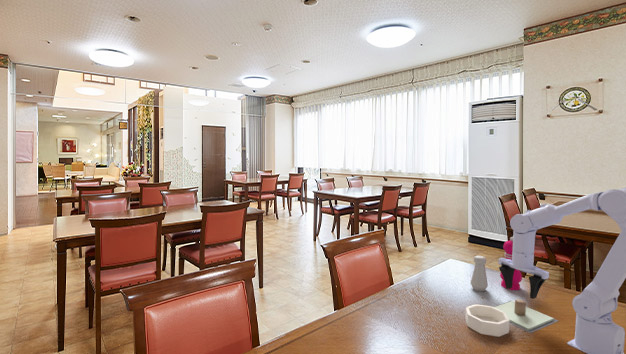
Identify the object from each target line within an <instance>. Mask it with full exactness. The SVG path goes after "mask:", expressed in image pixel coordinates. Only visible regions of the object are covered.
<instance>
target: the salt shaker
mask: <svg viewBox="0 0 626 354" xmlns="http://www.w3.org/2000/svg"><path fill="white" fill-rule="evenodd" d="M487 261H488V260H487V258H486V257H485V256H482V255H474V256H473V262H474V263H475V264H474V267H473V272H472V274H471V275H472V276H471V279H470V285H471V287H472V288H471V289H473V291H477V292H484V291H486V290H487V288H488V286H489V285H488V277H487V272H486V264H487Z"/></svg>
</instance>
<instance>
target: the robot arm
mask: <svg viewBox="0 0 626 354" xmlns="http://www.w3.org/2000/svg"><path fill="white" fill-rule="evenodd" d="M539 206H540V207H538V208H535V209H533V210H531V209H528V210H525V213H517V214H514V215H513V216H512V217H511V218H510V221H509V226H510V228H511V229H512V230H513V233H512V234H513V235H512V237H513V252H512V260H510V259H506V257H500V258H498V262H497V263H498V265H500V266H499V267H498V270H499V271H500V273H502V275H503V278H504V281H505V285H506V288H505V289H507V290H510V288H512V285H513V275H514V271H515V269H517V270H520V272H522V273H527V274H530V275H531V276H529V277H528V280H529V285H530V290H529V296H530V297H529V298H530V299H532V300H533V299H534V300H535V299H536V298H537V297H538V294H539V291H540V290H541V287H542V285H544V283H545V281H547V280H548V279H549V278H550V272H549V271H546V270H544V269H542V268H540V267H537V266H536V265H534V261H535V260H534V259H535V242H536V235H537V234H536V233H537V231H538V230H541V229H543V228H546V227H550V226H553V225H557V224H560V223H561V222H562V221H563V218H564V217H567V216H570V215H572V214H573V215H574V214H577V213H581V212H585V211H588V210H594V211H603V212H604V214H606V215H607V216H608V217H610V218H611V219H612V220H613V221H615V223H616V224H617V225H618V227H619V229H620V232H619V235H618V236H617V238H616V239H615V242H614V243H613V245H612V246H611V248H610V250H609V252H608V253H607V255H606V257H605V258H604V260H603V262H602V263H601V266H600V268H599V269H598V271H597V273H596V275H595V276H594V278H593V279H592V281H591V282H590V283H589V284H587V286H586V287H585V288H584V289H583V291H582V292H581V293H580V294H577V295H576V296H574V297H573V299H572V302H571V303H572V309H573V310H574V312H575V313H576V315H575V328H574V330H575V331H574V332H575V333H574V338H573V339H571V340H569V341H568V342H567V343H566V344H567V345H569V346H571V347H572V348H575V349H577V350H579V351H581V352H583V353H586V354H625V353H624V350H625V338H626V331H625V328H624V327H622V326H621V325H619V324H617V323H616V322H614V321H613V316H612V313H613V312H615V311H617V308H618V305H619V304H618V297H619V296H620V291H619V289H620V288H621V286H622V285H623V284H624V281H625V280H626V187H622V188H618V189H617V188H616V189H615V188H614V189H613V188H612V189H607V190H605V191H604V190H603V191H598V192H593V193H589V194H586V195H584V196H581V197H578V198H576V199H573V200H571V201H567V202H565V203H562V204H561V205H558V206H557V205H554V204H550V203H548V204H547V203H543V204H539Z"/></svg>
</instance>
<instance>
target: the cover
mask: <svg viewBox="0 0 626 354" xmlns="http://www.w3.org/2000/svg"><path fill="white" fill-rule="evenodd" d="M510 301H511V302H509V301H507V302H508V303H506V302H504V303H505V304H503V303H501V304H502V305H500V304H498V305H499V306H497V305H495V306H496V307H494V306H493V307H494V308H496V309H498V310H501V311H503V312H505V313H506V315H507V316H508V318H509V320H510V322H512V323H514V324H516V325H518V326H520V327H522V328H525V329H527V330H531V329H534V328H536V327H538V326H541V325H543V324H545V323H548V322H550V321H553V320H554V319H555V318H554V317H551V316H549V315H548V314H544V313H542V312H540V311H537V310H536V309H532V308H531V307H528V306H527V301H525V300H523V299H518V298H517V299H515V300H510Z"/></svg>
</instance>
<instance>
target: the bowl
mask: <svg viewBox="0 0 626 354" xmlns="http://www.w3.org/2000/svg"><path fill="white" fill-rule="evenodd" d="M464 317H465V322H466V326H467V327H469V328H470V329H472V330H473V331H475V332H477V333H479V334H480V335H484V336H485V335H487V336H491V337H502V336H504V335H506V334H509V333H510V323H509V321H510V320H509V318H508V316H507V315H506V313H505V312H503V311H501V310H498V309H496V308H494V306H491V305H485V304H472V305H470V306H466V307H465V316H464Z"/></svg>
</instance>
